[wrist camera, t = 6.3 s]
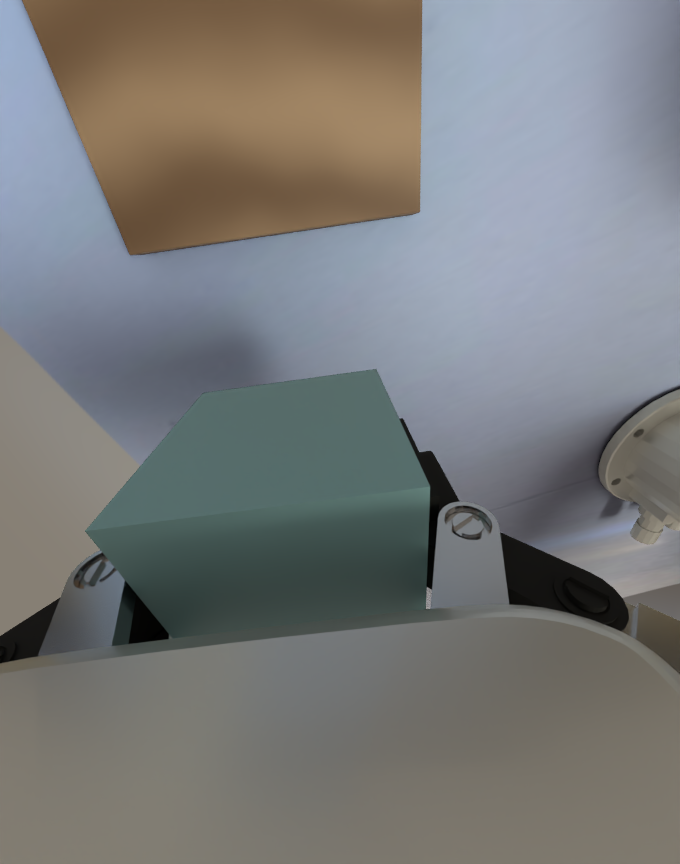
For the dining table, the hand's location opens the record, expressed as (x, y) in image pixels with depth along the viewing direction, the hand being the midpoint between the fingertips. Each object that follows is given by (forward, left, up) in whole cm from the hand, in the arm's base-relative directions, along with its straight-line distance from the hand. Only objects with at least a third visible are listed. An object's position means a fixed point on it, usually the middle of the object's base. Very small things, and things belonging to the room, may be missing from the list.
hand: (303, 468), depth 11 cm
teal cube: (0, 0, -1) cm, 1 cm away
